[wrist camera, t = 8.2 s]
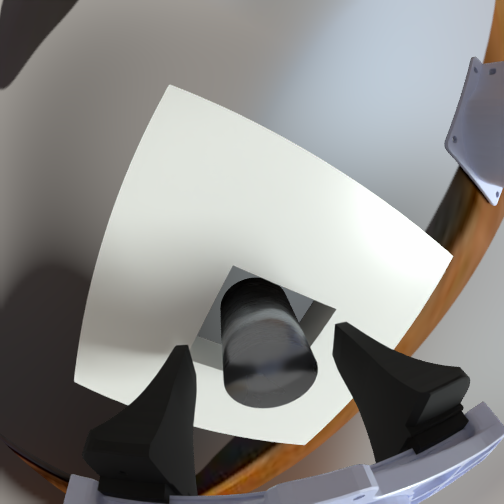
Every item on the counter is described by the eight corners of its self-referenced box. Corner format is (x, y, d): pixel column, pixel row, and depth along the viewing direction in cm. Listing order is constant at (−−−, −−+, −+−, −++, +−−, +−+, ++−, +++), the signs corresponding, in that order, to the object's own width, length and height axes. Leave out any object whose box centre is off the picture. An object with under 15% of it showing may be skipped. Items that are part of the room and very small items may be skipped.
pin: (216, 281, 16) (217, 349, 10) (287, 273, 16) (320, 335, 10) (224, 339, 17) (229, 413, 11) (287, 330, 17) (314, 399, 12)
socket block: (177, 95, 12) (169, 84, 10) (430, 243, 17) (452, 256, 14) (85, 358, 17) (74, 381, 14) (297, 423, 21) (304, 445, 19)
